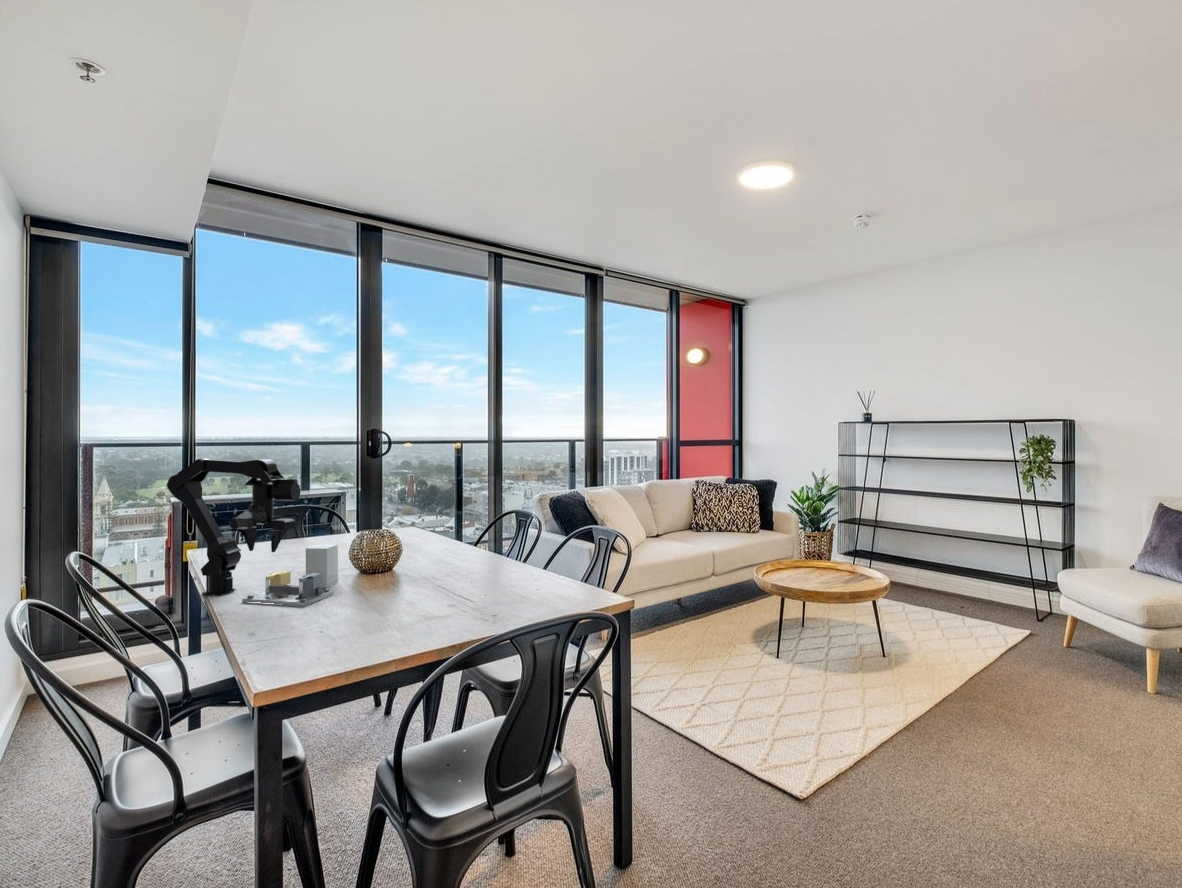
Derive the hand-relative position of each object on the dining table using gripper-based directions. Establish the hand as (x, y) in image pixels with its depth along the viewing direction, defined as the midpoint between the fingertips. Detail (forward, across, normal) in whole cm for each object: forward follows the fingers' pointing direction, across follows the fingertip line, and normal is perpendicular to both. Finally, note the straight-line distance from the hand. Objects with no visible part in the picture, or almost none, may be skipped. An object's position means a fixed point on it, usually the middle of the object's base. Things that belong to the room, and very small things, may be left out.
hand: (262, 551), depth 185 cm
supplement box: (+13, +11, +14) cm, 22 cm away
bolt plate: (+13, +12, -3) cm, 18 cm away
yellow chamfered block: (+11, +7, -3) cm, 13 cm away
